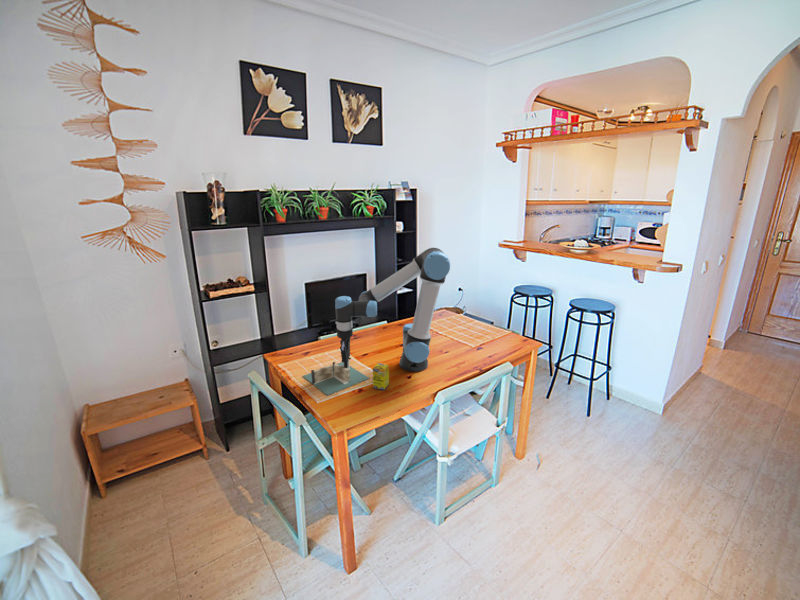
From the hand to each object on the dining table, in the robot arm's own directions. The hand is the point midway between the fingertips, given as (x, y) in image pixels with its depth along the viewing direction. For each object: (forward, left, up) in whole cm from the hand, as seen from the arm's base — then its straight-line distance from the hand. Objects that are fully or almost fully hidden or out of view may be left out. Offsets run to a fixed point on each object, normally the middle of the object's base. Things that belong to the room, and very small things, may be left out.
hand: (346, 372), depth 186 cm
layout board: (+4, +4, -3) cm, 7 cm away
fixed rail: (+6, +10, -3) cm, 12 cm away
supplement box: (-18, -8, -4) cm, 20 cm away
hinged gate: (+1, +2, -3) cm, 4 cm away
